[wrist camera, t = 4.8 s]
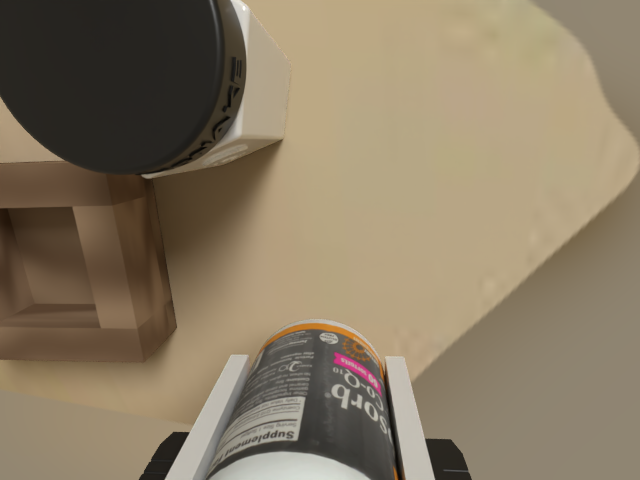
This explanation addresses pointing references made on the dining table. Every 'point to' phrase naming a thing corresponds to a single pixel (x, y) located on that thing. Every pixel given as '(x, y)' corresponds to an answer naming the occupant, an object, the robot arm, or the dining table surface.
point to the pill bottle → (310, 411)
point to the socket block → (80, 265)
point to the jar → (143, 82)
